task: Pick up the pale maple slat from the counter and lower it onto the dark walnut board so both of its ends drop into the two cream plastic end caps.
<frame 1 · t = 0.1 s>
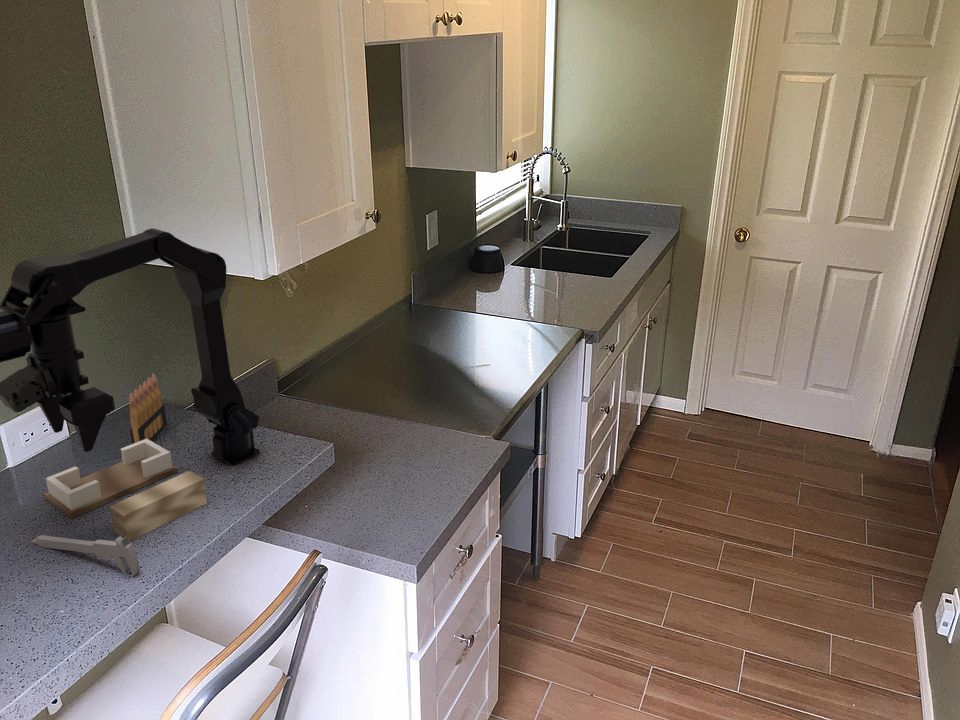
hand: (73, 441, 120), 15 cm above the worktop, tool pointing down, fingers open, 9 cm apart
end caps: (111, 472, 134), on the walnut board, point 2 cm above the worktop
ammunition clip: (151, 440, 150), on the worktop
walnut board: (113, 484, 135), on the worktop
caliper: (84, 560, 117), on the worktop
maple slat: (162, 518, 127), on the worktop
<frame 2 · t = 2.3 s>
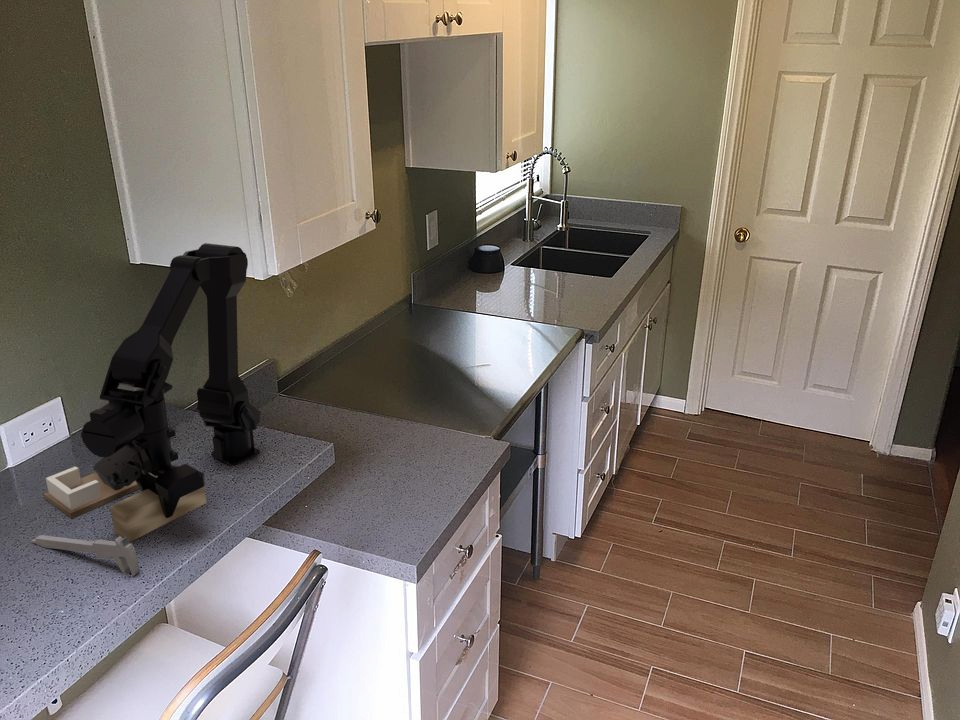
hand: (161, 511, 126), 1 cm above the worktop, tool pointing down, fingers closed on maple slat, 4 cm apart
maple slat: (162, 518, 127), on the worktop, touching gripper
everything else where it was.
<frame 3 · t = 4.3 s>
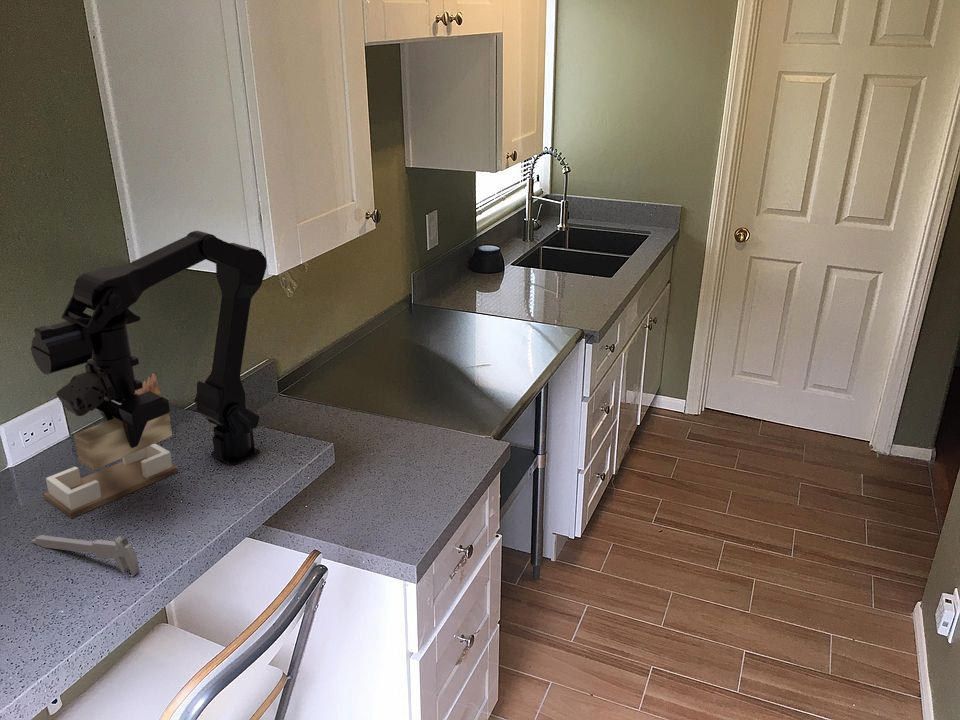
hand: (126, 442, 127), 11 cm above the worktop, tool pointing down, fingers closed on maple slat, 4 cm apart
maple slat: (127, 448, 127), point 10 cm above the worktop, touching gripper
everything else where it was.
when the fingers open (3 cm above the worktop, at t = 6.2 s): maple slat drops 1 cm, resting on walnut board.
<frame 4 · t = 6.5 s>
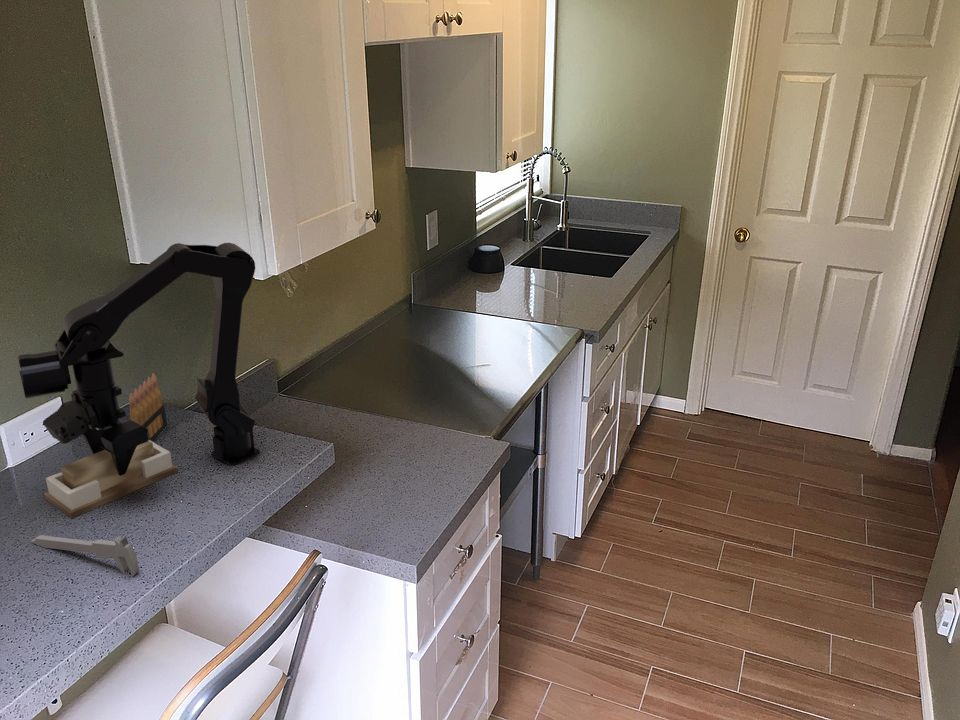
hand: (110, 467, 134), 3 cm above the worktop, tool pointing down, fingers open, 7 cm apart
maple slat: (112, 479, 135), point 1 cm above the worktop, touching walnut board
everything else where it was.
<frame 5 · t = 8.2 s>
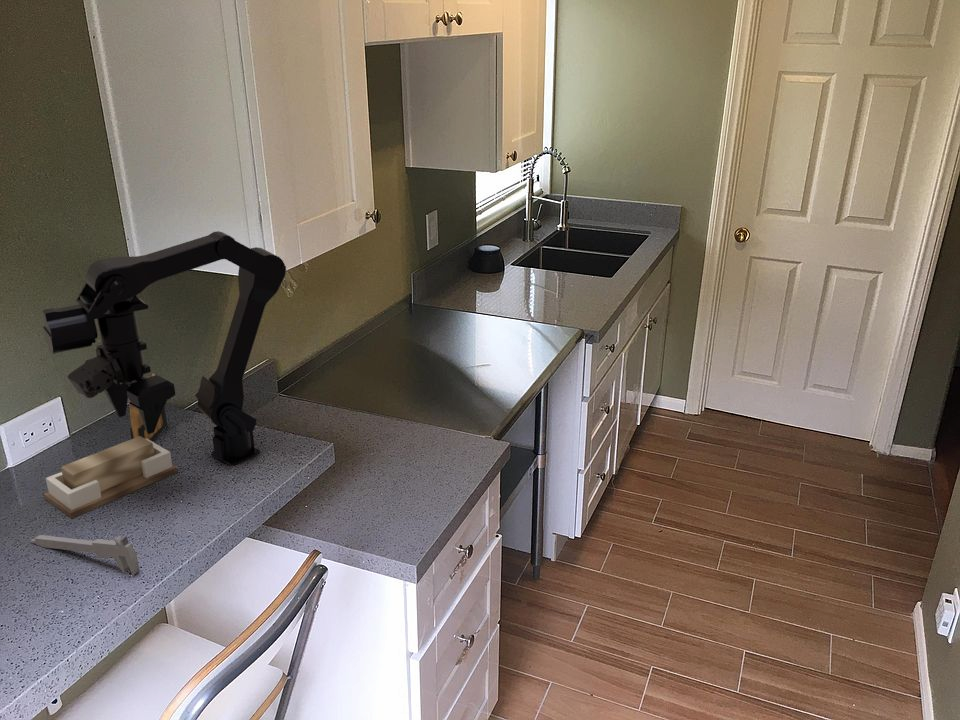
hand: (136, 424, 132), 11 cm above the worktop, tool pointing down, fingers open, 9 cm apart
nothing on the worktop moved.
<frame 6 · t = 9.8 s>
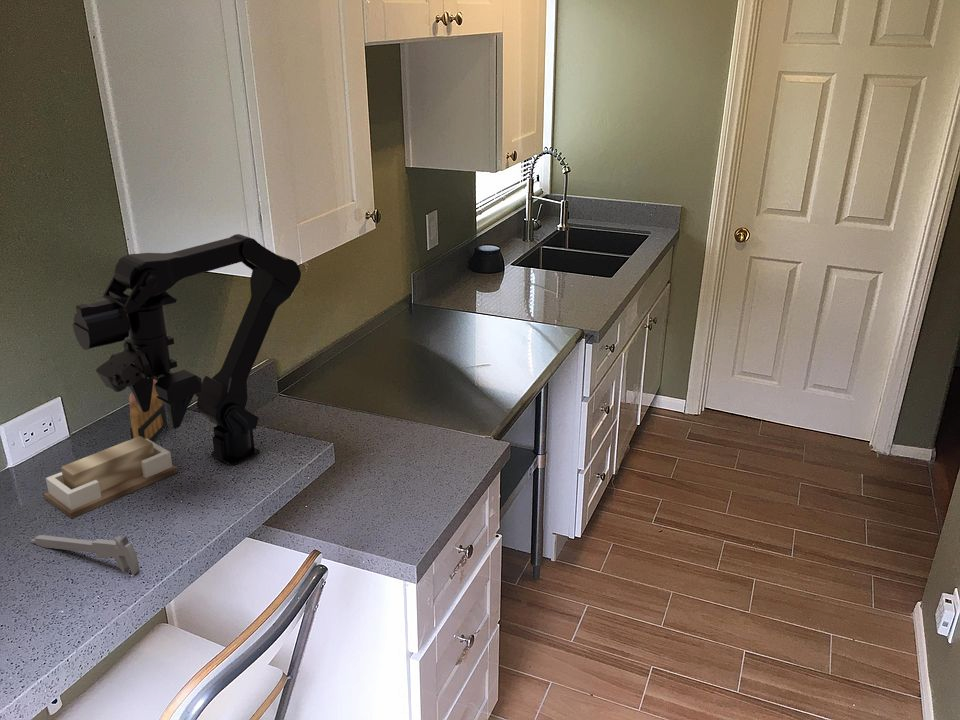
hand: (160, 419, 132), 12 cm above the worktop, tool pointing down, fingers open, 9 cm apart
nothing on the worktop moved.
at the end: maple slat 0.0 cm off-centre on the walnut board, point 1.0 cm above the walnut board's base; the gripper is holding nothing; maple slat tilted 0° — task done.
